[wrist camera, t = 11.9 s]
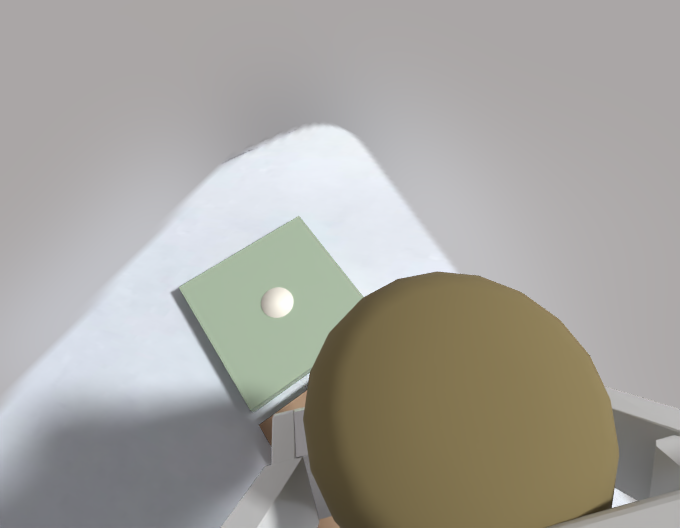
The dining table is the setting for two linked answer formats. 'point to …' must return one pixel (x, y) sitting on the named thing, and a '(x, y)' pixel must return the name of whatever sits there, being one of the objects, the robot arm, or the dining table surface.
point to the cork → (457, 412)
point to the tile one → (271, 309)
